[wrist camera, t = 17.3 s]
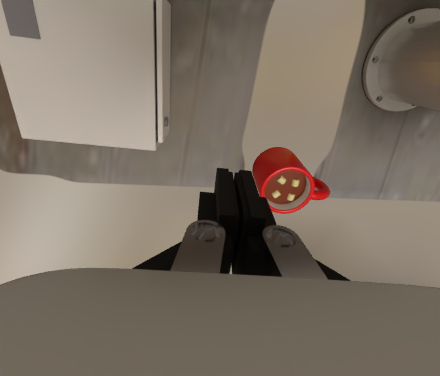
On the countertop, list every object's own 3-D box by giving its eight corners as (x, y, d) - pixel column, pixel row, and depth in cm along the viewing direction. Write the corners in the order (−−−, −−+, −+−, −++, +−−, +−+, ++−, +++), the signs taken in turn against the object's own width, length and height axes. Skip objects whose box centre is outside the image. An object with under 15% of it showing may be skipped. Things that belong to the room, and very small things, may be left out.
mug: (310, 195, 44) (328, 221, 37) (247, 185, 43) (254, 209, 36) (327, 156, 40) (351, 176, 34) (259, 143, 39) (269, 162, 32)
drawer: (174, 5, 30) (165, -5, 25) (172, 130, 37) (165, 143, 32) (29, -15, 29) (-13, -31, 23) (57, 119, 36) (31, 130, 31)
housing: (164, -7, 29) (151, -22, 24) (164, 136, 38) (155, 151, 32) (17, -28, 28) (-35, -50, 22) (51, 125, 37) (21, 138, 31)
